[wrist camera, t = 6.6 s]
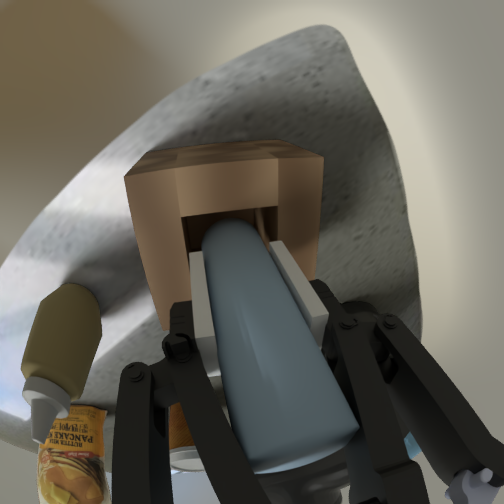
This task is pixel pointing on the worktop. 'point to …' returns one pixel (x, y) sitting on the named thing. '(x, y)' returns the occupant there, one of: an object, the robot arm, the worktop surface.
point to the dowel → (269, 357)
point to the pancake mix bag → (74, 460)
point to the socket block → (221, 206)
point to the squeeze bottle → (59, 355)
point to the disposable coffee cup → (182, 443)
